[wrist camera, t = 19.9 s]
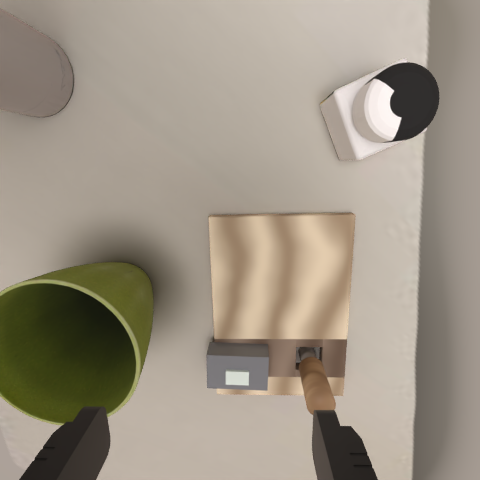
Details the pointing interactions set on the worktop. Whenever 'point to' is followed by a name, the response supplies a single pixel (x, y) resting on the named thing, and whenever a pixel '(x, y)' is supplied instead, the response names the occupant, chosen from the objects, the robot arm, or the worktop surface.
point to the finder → (237, 366)
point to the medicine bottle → (381, 109)
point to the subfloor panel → (284, 290)
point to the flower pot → (74, 339)
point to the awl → (315, 382)
